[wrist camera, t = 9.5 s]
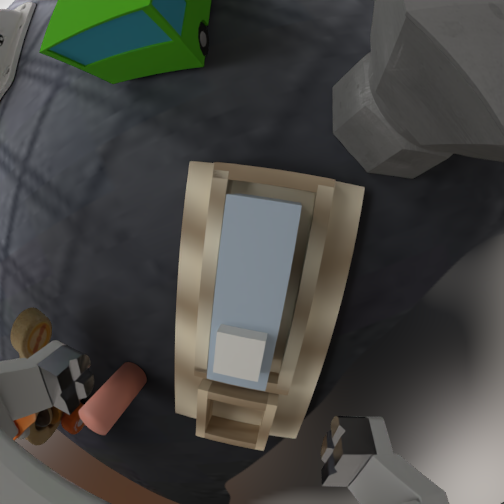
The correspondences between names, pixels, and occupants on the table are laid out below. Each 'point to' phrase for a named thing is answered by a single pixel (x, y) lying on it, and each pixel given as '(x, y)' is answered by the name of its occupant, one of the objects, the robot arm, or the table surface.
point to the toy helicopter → (27, 343)
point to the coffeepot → (425, 87)
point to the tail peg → (112, 398)
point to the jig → (295, 306)
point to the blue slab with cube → (251, 287)
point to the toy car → (128, 36)
